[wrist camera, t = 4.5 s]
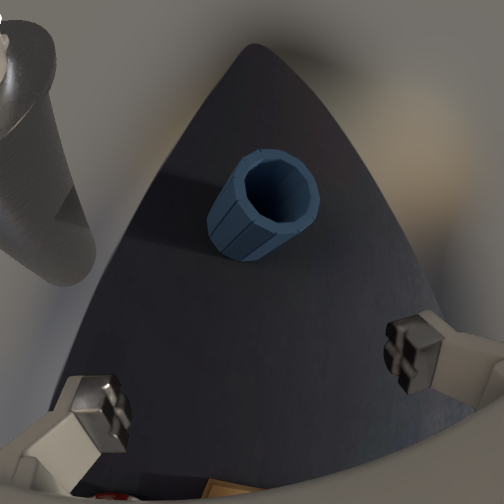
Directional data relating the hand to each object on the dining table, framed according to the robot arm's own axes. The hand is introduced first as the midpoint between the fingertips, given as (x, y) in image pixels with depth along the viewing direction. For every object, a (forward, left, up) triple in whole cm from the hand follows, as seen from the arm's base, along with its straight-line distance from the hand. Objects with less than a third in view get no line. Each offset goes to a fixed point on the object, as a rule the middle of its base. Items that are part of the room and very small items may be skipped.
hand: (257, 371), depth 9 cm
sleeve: (+1, +12, -17) cm, 21 cm away
